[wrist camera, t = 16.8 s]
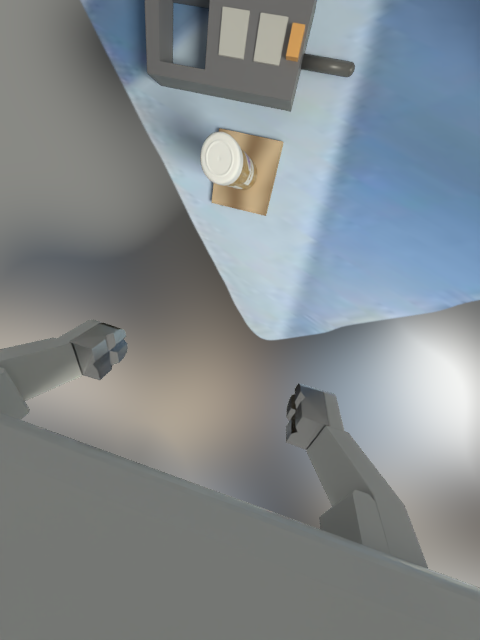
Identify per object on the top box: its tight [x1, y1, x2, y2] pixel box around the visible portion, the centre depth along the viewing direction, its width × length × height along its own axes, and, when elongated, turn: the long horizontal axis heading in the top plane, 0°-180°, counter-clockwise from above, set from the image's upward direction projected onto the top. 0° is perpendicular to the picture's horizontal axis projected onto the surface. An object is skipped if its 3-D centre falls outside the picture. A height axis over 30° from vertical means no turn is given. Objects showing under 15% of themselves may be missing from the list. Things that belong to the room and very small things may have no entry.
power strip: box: [145, 0, 355, 111], centre depth 25 cm, size 27×9×4 cm, turn 79°
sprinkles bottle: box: [200, 132, 257, 190], centre depth 27 cm, size 5×5×14 cm
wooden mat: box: [212, 128, 283, 216], centre depth 33 cm, size 10×10×1 cm
